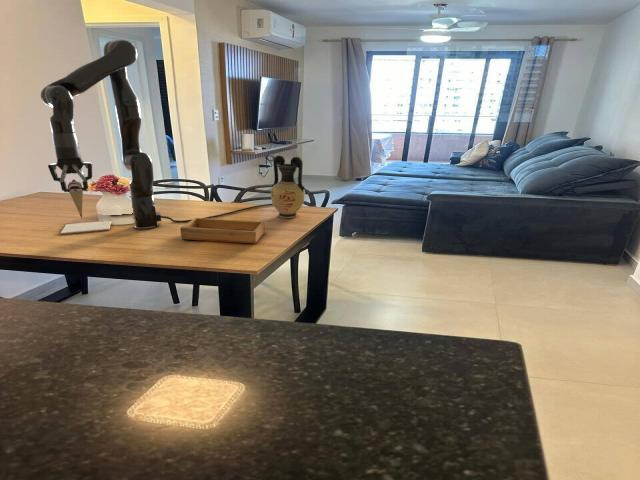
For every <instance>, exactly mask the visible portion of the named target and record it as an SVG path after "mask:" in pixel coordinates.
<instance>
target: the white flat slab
mask: <svg viewBox="0 0 640 480" xmlns="http://www.w3.org/2000/svg"><path fill="white" fill-rule="evenodd" d="M111 224H112V221H104V220H94V221H93V220H92V221H81V222H69V223H65V226H63V229H62V230H61V231H60V232H59V235H60V236H63V235H64V236H65V235H74V234H86V233H95V232H98V233H99V232H109V231H110V228H111Z"/></svg>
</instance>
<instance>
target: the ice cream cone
mask: <svg viewBox="0 0 640 480" xmlns="http://www.w3.org/2000/svg"><path fill="white" fill-rule="evenodd" d="M84 192H85V191H84V188H83V184H82V182H80V181H77V180H76V179H72V180H71V181H70V182H68V183H67V192H66V193H69V195H70V197H71V199H72V201H73V203H74V205H75V208H76V209H77V212H78V214H79V216H80V218H81V219H83V200H84V199H83V196H84V195H83V194H84Z"/></svg>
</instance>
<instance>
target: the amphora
mask: <svg viewBox="0 0 640 480" xmlns="http://www.w3.org/2000/svg"><path fill="white" fill-rule="evenodd" d="M272 162H273V164H272V165H273V172H274V175H273V176H274V179H273V180H274V181H273V184H271V189H270V200H271V204H272V203H273V205H272V206H273V207H274V209H276V211H278V217H280V218H281V219H294V218H296V217H298V214H297V212H298V211H299V210H300V209H301V208H302V207H303V205H304V203H305V197H306V192H305V191H306V190H305V186H304V184H303V170H304V169H303V165H304V164H303V163H304V161H303V160H302V158H301V157H300V156H293V157H292V158H291V159H290V162H289V163H286V159H285V157H284V156H283V155H280V154H279V155H276V156H274V157H273V161H272ZM297 168H298V171H297ZM296 171H297V182H296V181H295V173H296ZM279 172H280V173H281V177H280V181H279Z"/></svg>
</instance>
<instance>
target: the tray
mask: <svg viewBox="0 0 640 480" xmlns="http://www.w3.org/2000/svg"><path fill="white" fill-rule="evenodd" d="M190 220H191V219H190ZM179 228H180V239H181V240H191V241H192V240H193V241H208V242H209V241H210V242H222V243H223V242H225V243H239V244H254V245H255V244H257V242H258V241H259V240H260V239H261V237H262V236H263V235H264V234H265V221H257V220H239V219H238V220H237V219H222V218H209V219H207V218H205V217H194V218H193V220H191V221H190V222H186V223H185V224H183V225H182V226H180V227H179Z"/></svg>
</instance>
